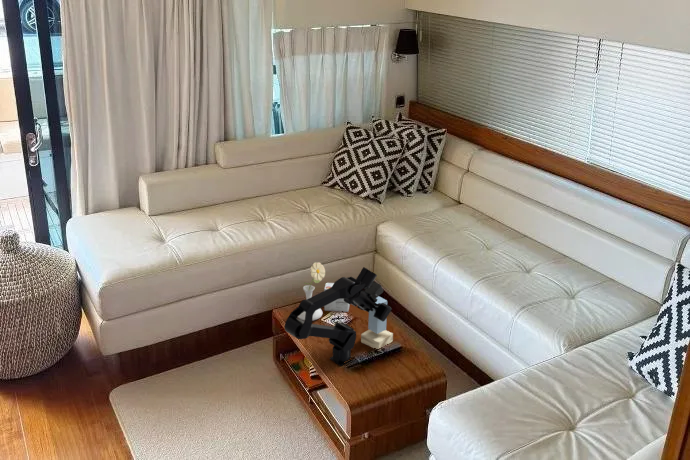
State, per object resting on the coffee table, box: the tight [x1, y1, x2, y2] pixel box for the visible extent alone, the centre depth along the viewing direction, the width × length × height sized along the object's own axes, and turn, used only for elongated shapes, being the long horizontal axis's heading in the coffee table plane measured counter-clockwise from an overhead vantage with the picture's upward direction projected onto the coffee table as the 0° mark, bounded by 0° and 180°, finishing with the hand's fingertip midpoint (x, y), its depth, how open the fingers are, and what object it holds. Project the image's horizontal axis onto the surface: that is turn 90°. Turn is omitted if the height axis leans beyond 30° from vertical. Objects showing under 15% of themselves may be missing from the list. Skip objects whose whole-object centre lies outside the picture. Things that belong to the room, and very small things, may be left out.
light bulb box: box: [323, 282, 351, 313], centre depth 294 cm, size 11×7×11 cm, turn 84°
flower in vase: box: [297, 262, 326, 322], centre depth 285 cm, size 13×11×25 cm
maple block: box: [360, 329, 394, 350], centre depth 271 cm, size 9×9×4 cm
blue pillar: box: [367, 295, 388, 334], centre depth 266 cm, size 5×5×13 cm
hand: (380, 313), depth 267 cm, fingers closed on blue pillar, 5 cm apart
